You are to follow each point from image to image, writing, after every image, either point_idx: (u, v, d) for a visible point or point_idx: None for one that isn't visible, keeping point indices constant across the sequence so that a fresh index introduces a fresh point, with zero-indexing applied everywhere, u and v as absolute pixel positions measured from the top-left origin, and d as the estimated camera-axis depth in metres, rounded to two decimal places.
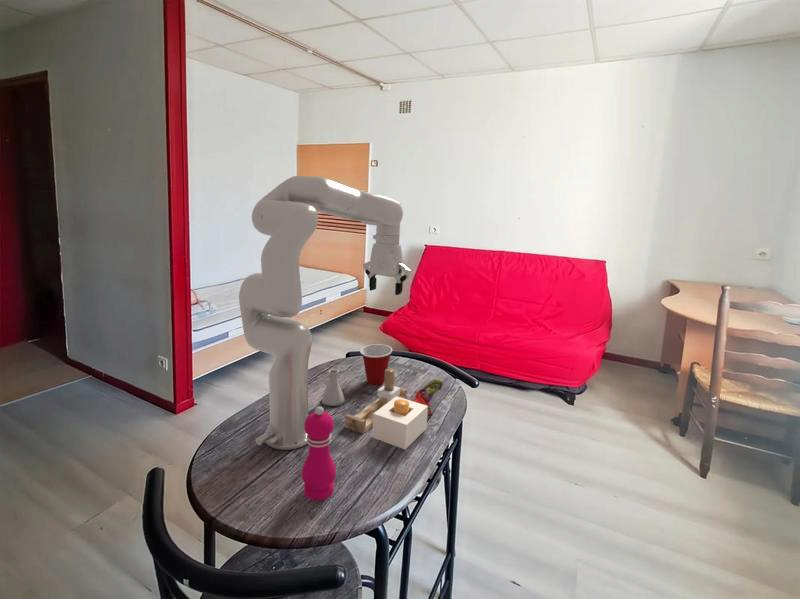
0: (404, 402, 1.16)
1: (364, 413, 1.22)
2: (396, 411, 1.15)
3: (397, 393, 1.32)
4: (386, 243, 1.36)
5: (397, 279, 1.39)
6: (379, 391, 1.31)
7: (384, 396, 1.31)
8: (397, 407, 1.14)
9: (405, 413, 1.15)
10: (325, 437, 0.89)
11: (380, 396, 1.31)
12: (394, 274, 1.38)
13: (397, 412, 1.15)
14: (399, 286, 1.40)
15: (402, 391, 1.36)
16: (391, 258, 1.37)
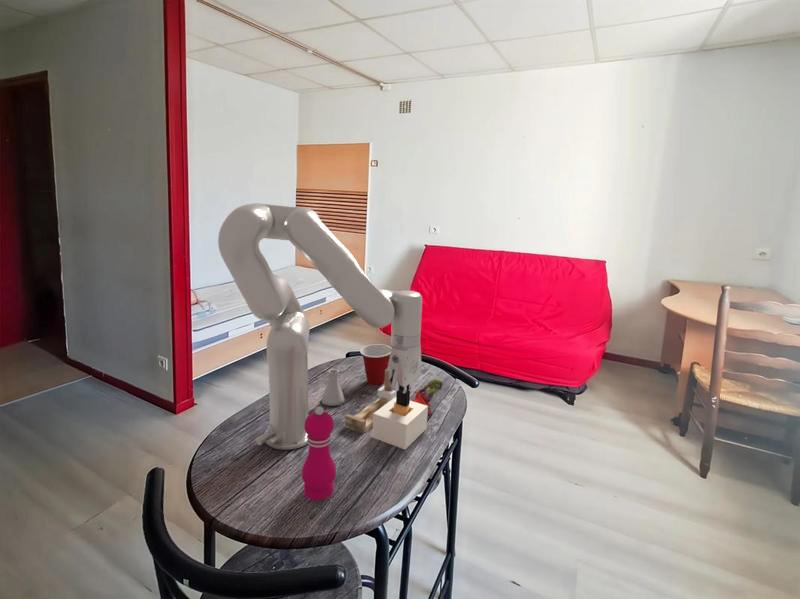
0: None
1: (364, 413, 1.22)
2: (396, 412, 1.15)
3: None
4: (419, 342, 1.11)
5: (410, 385, 1.15)
6: (379, 391, 1.31)
7: (384, 396, 1.31)
8: (397, 409, 1.15)
9: (405, 414, 1.15)
10: (325, 437, 0.89)
11: (380, 396, 1.31)
12: (420, 372, 1.17)
13: (397, 413, 1.15)
14: None
15: None
16: (419, 356, 1.14)
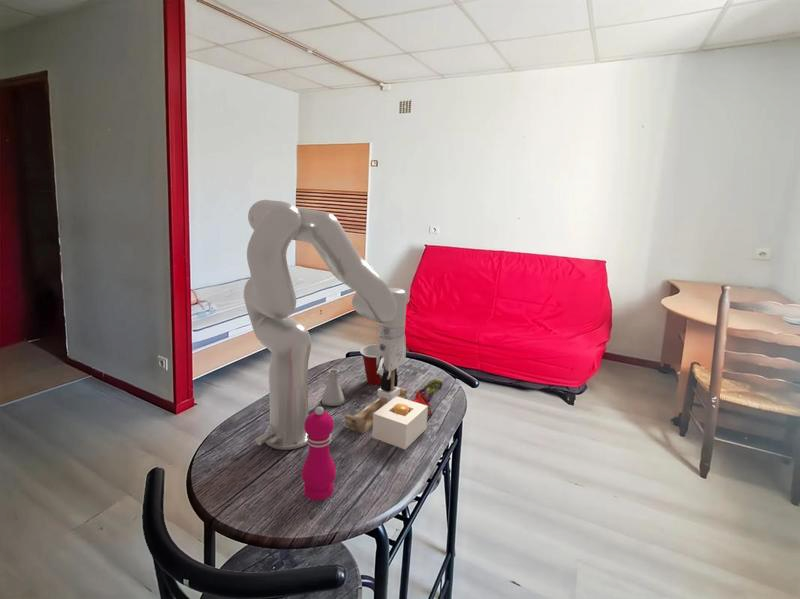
0: (404, 406, 1.17)
1: (364, 413, 1.22)
2: None
3: (397, 393, 1.32)
4: (404, 333, 1.28)
5: (397, 369, 1.32)
6: (379, 391, 1.31)
7: (384, 396, 1.31)
8: (397, 412, 1.15)
9: None
10: (325, 437, 0.89)
11: (380, 396, 1.31)
12: None
13: None
14: None
15: (402, 391, 1.36)
16: (404, 345, 1.30)
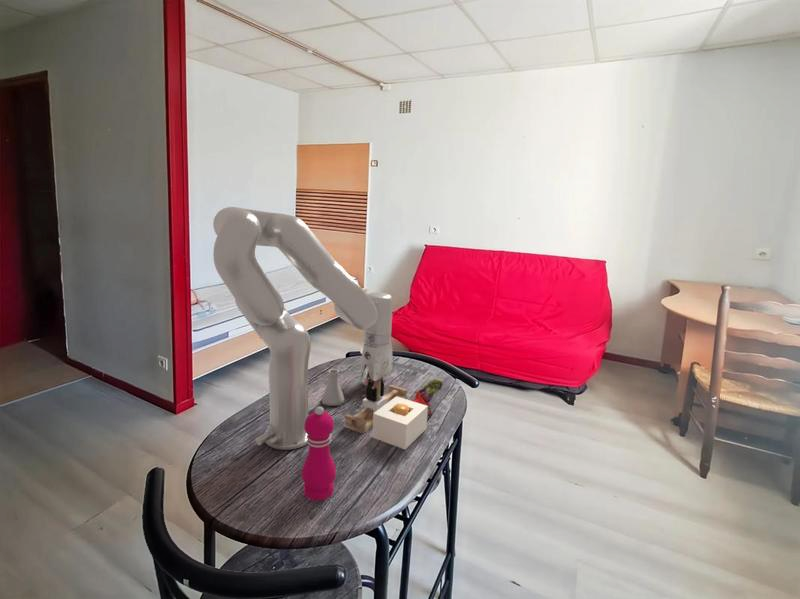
0: (404, 406, 1.17)
1: (364, 413, 1.22)
2: None
3: (383, 403, 1.26)
4: (390, 340, 1.21)
5: (383, 378, 1.26)
6: (364, 401, 1.25)
7: (369, 406, 1.24)
8: (397, 412, 1.15)
9: None
10: (325, 437, 0.89)
11: (365, 406, 1.25)
12: (391, 368, 1.26)
13: None
14: None
15: (402, 391, 1.36)
16: (390, 353, 1.24)
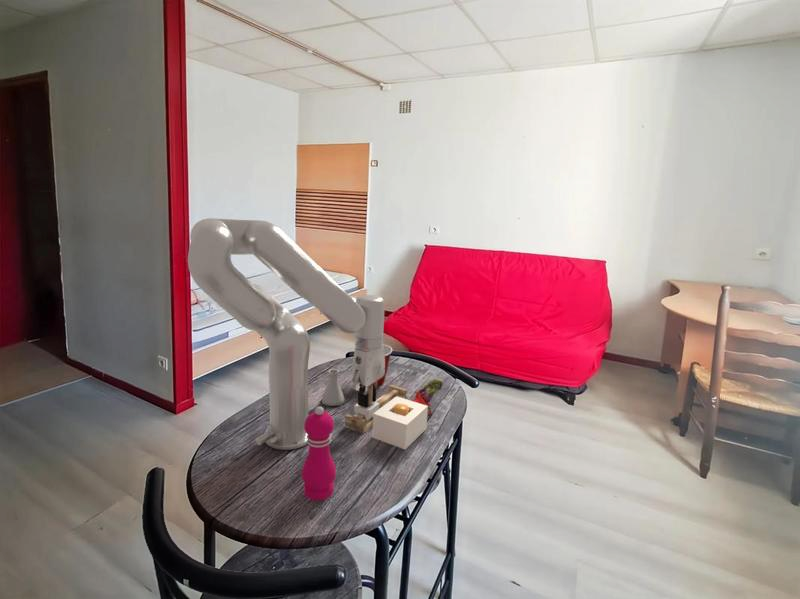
0: (404, 406, 1.17)
1: None
2: None
3: (376, 409, 1.22)
4: (382, 344, 1.17)
5: (376, 383, 1.22)
6: (356, 407, 1.21)
7: (361, 412, 1.20)
8: (397, 412, 1.15)
9: None
10: (325, 437, 0.89)
11: (357, 412, 1.21)
12: (384, 373, 1.23)
13: None
14: None
15: (402, 391, 1.36)
16: (383, 357, 1.20)
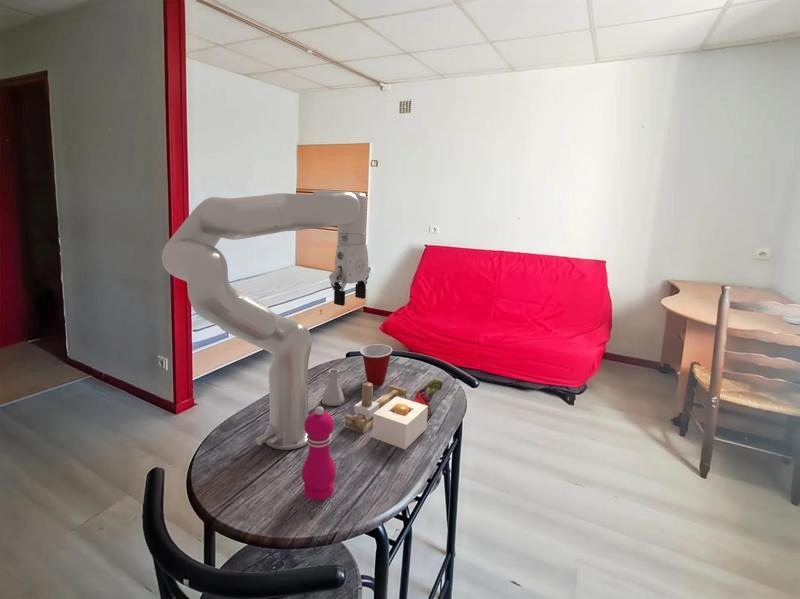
0: (404, 406, 1.17)
1: None
2: None
3: (376, 409, 1.22)
4: (365, 242, 1.16)
5: (364, 281, 1.23)
6: (356, 407, 1.21)
7: (361, 412, 1.20)
8: (397, 412, 1.15)
9: None
10: (325, 437, 0.89)
11: (357, 412, 1.21)
12: (367, 275, 1.22)
13: None
14: None
15: (402, 391, 1.36)
16: (366, 258, 1.19)
